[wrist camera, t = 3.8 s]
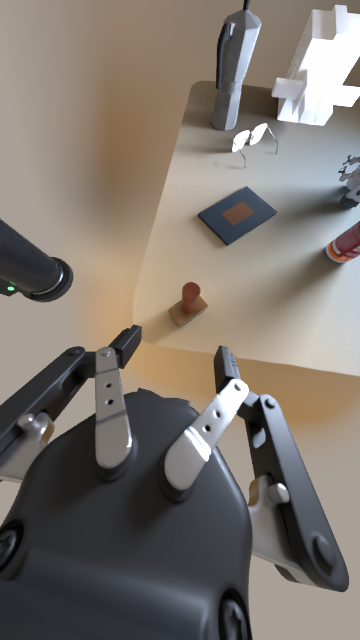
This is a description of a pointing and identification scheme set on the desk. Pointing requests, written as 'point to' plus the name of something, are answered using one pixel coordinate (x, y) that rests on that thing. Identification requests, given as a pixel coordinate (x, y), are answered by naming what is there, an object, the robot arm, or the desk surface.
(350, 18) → the white voxel figure
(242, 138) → the eyeglasses
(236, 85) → the coffeepot
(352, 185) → the figurine
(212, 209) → the mat
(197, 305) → the stamp
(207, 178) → the desk surface
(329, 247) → the pill bottle
